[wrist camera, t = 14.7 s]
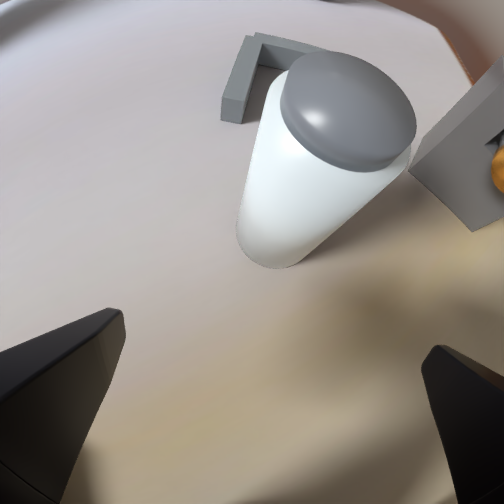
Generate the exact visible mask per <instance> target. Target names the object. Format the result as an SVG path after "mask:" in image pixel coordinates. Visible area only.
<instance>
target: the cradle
mask: <svg viewBox="0 0 504 504" xmlns="http://www.w3.org/2000/svg"><path fill="white" fill-rule="evenodd" d="M318 51H329V50H326V49H322V48H319V47H316V46H312V45H308V44H305V43H301V42H297V41H293V40H289V39H285V38H281V37H276V36H271V35H267V34H262V33H256V32H255V35H254V37H253V36H248V35H246V36H245V39H244V41H243V44H242V46H241V49H240V51H239V54H238V56H237V59H236V61H235V64H234V66H233V69H232V72H231V74H230V77H229V80H228V82H227V85H226V88H225V90H224V93H223V96H222V105H221V120H223V121H228V122H233V123H238V124H241V122H242V118H243V115H244V111H245V108H246V104H247V101H248V97H249V94H250V90H251V87H252V84H253V80H254V77H255V73H256V70H257V67H258V64H259V65H264V66H268V67H273V68H277V69H282V70H286V71H287V70H289V68H290V67H291V65H292V64H293V62H294V61H295V60H297V59H298V58H300V57H301V56H303V55H305V54H308V53H312V52H318Z"/></svg>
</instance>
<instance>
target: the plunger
mask: <svg viewBox="0 0 504 504" xmlns="http://www.w3.org/2000/svg"><path fill="white" fill-rule="evenodd" d="M491 175H492V179H493V181H494V183H495V185H496V186H497V188H498V189H499V190H500V191H501V192H502V193H504V129H503V130H502V131H501V132H500V143H499V148H498V149H497V150H496V151H495V153H494V155H493V159H492V165H491Z"/></svg>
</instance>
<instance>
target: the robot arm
mask: <svg viewBox="0 0 504 504" xmlns="http://www.w3.org/2000/svg"><path fill="white" fill-rule="evenodd" d="M125 338H126V331H125V324H124V317H123V313H122V311H121V310H118V309H114V308H106V309H103V310H101V311H98V312H96V313H93V314H91V315H89V316H86V317H84V318H81V319H79V320H77V321H74V322H72V323H69V324H67V325H64V326H62V327H60V328H57V329H55V330H52V331H50V332H48V333H45V334H43V335H40V336H38V337H36V338H33V339H31V340H28V341H26V342H24V343H21V344H19V345H16V346H14V347H12V348H9V349H7V350H4V351H2V352H0V504H59V503H60V501H61V498H62V495H63V493H64V490H65V487H66V485H67V482H68V480H69V477H70V475H71V472H72V470H73V467H74V465H75V462H76V460H77V458H78V455H79V453H80V450H81V448H82V446H83V443H84V441H85V439H86V436H87V434H88V432H89V430H90V427H91V425H92V423H93V421H94V418H95V416H96V414H97V412H98V410H99V407H100V405H101V403H102V401H103V399H104V397H105V395H106V393H107V390H108V388H109V386H110V384H111V381H112V378H113V375H114V372H115V369H116V366H117V363H118V360H119V357H120V354H121V351H122V349H123V346H124V343H125ZM421 372H422V376H423V379H424V383H425V387H426V391H427V395H428V399H429V403H430V407H431V410H432V413H433V416H434V419H435V422H436V425H437V428H438V431H439V435H440V438H441V441H442V444H443V448H444V451H445V454H446V458H447V461H448V465H449V469H450V472H451V476H452V480H453V484H454V488H455V492H456V497H457V501H458V504H504V377H503V376H501V375H499V374H498V373H496V372H494V371H492V370H490V369H489V368H487V367H485V366H483V365H481V364H479V363H478V362H476V361H474V360H472V359H470V358H469V357H467V356H465V355H463V354H461V353H459V352H458V351H456V350H454V349H452V348H450V347H448V346H446V345H435V346H434V347H433V348H432V350H431V351H430V353H429V354H428V356H427V357H426V359H425V360H424V361H423V363H422V367H421Z"/></svg>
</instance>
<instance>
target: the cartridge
mask: <svg viewBox="0 0 504 504" xmlns="http://www.w3.org/2000/svg"><path fill="white" fill-rule="evenodd" d="M416 128H417V125H416V117H415V113H414V110H413V108H412V106H411V104H410V101H409V100H408V98H407V97H406V95H405V94H404V92H403V91H402V90H401V88H400V87H399V86H398V85H397V84H396V83H395V82H394V81H393V80H392V79H391V78H390V77H389V76H387V75H386V74H385V73H384V72H382V71H381V70H380V69H378V68H377V67H375V66H373V65H372V64H370V63H368V62H366V61H364V60H362V59H359V58H357V57H354V56H351V55H348V54H344V53H340V52H333V51H318V52H312V53H308V54H305V55H303V56H301V57H300V58H298V59H297V60H295V61H294V62H293V64H292V65H291V67H290V68H289V70H287V71H285V72H283V73H282V74H281V75H279V76H278V77H277V78H276V79H275V80H274V81H273V83H272V84H271V86H270V88H269V90H268V93H267V97H266V101H265V105H264V109H263V113H262V117H261V121H260V125H259V129H258V133H257V138H256V142H255V146H254V150H253V154H252V158H251V163H250V167H249V171H248V175H247V180H246V184H245V188H244V193H243V197H242V201H241V206H240V210H239V215H238V219H237V224H236V234H237V239H238V242H239V245H240V247H241V248H242V250H243V251H244V253H245V254H246V255H247V256H248V257H249V258H250V259H251V260H252V261H254V262H255V263H257V264H259V265H261V266H264V267H267V268H273V269H280V268H286V267H289V266H292V265H294V264H296V263H298V262H299V261H300V260H301V259H303V258H304V257H305V256H306V255H307V254H309V253H310V252H311V251H312V250H313V249H315V248H316V247H317V246H318V245H319V244H321V243H322V242H323V241H324V240H325V239H326V238H328V237H329V236H330V235H331V234H332V233H333V232H335V231H336V230H337V229H338V228H339V227H340V226H342V225H343V224H344V223H345V222H346V221H347V220H349V219H350V218H351V217H352V216H353V215H354V214H356V213H357V212H358V211H359V210H360V209H361V208H362V207H364V206H365V205H366V204H367V203H368V202H369V201H370V200H371V199H373V198H374V197H375V196H376V195H377V194H378V193H379V192H381V191H382V190H383V189H384V188H385V187H386V186H387V185H388V184H389V183H391V182H392V181H393V180H394V179H395V178H396V177H397V176H398V175H399V174H400V173H401V172H402V171H403V170H404V169H405V167H406V165H407V163H408V161H409V157H410V152H411V143H412V141H413V139H414V137H415V134H416Z"/></svg>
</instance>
